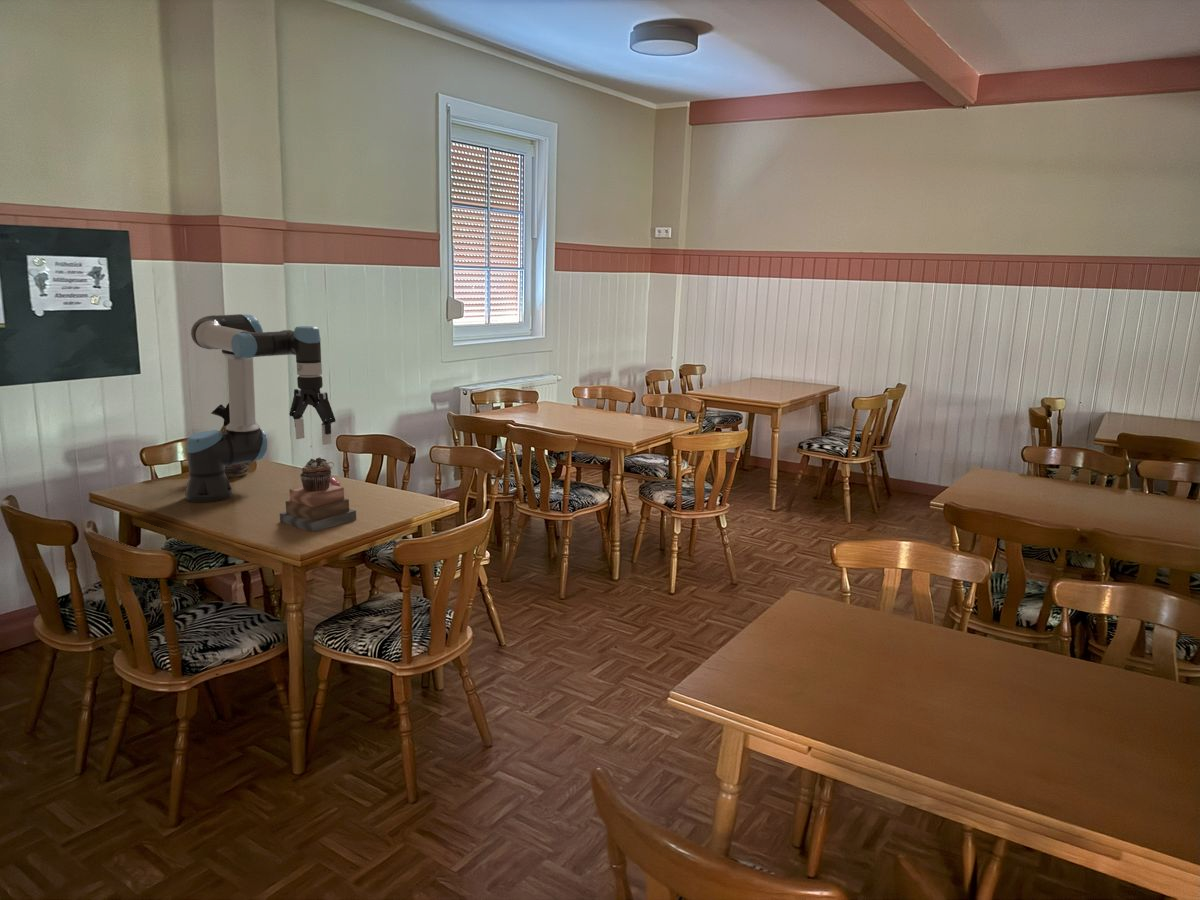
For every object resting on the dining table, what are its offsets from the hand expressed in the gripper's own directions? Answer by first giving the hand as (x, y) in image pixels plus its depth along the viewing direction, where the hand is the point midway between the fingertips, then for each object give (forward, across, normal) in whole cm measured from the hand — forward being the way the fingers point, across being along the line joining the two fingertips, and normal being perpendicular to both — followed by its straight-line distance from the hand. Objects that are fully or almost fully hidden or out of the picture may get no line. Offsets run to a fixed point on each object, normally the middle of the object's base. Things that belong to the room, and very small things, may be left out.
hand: (313, 441), depth 266 cm
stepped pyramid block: (+27, 0, 0) cm, 27 cm away
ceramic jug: (+27, -76, +18) cm, 82 cm away
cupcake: (+16, 0, 0) cm, 16 cm away
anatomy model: (+27, -20, +19) cm, 39 cm away
